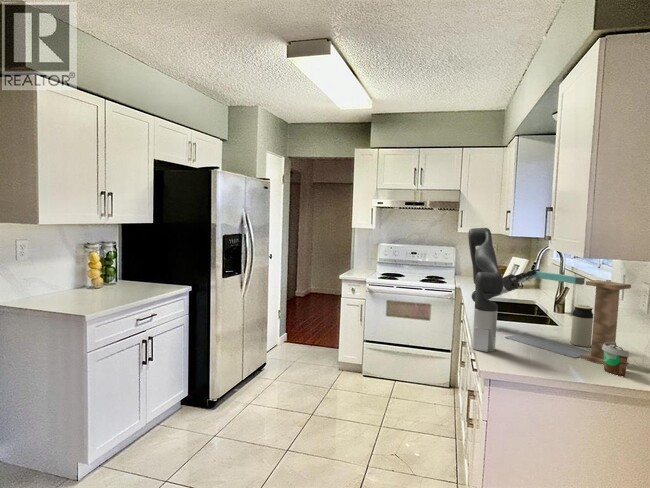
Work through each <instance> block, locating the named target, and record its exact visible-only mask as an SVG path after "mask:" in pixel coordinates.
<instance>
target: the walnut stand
mask: <svg viewBox="0 0 650 488" xmlns="http://www.w3.org/2000/svg"><path fill="white" fill-rule="evenodd" d="M585 286H590V287H595V295H594V307H593V325H592V338H591V346H590V347H591V349H590V351H591V352H589V353H586V354H582V355H581V357H580V359H581V360H585V361H588V362H592V363H595V364H598V365H602V364H603V365H602V366H604V350H602V346H603V344H604V343H605V342H616V341H617V340H616V339H617V338H616V337H617V326H618V315H619V303H620V291H622V290H629V289H632V284H630V283H629V284H628V283H622V282H614V281H606V280H599V279H597V280H588V281H586V280H585Z"/></svg>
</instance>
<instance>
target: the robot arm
mask: <svg viewBox="0 0 650 488" xmlns="http://www.w3.org/2000/svg"><path fill="white" fill-rule="evenodd" d="M467 237H468V247H469V252H470V253H469V254H470V258H471V264H472V277H473V279H472V280H473V283H474V285H475V289H474V291H473V292H472V293H471V300H472V301H473V302H474V310H473V311H474V312H473V313H474V314H473V325H472V326H473V327H472V329H473V330H472V345H471V347H472V349H473V350H477V351H482V352H485V353H489V352H495V350H496V337H497V323H498V310H499V309H498V308H499V307H498V303H496V302H494V301H492V300H490V299H492V298H496V297H498V296H499V297H500V296H501V295H504V294H508V293H510V292H512V291H515V290H516V289H519V288H520V285H521V284H523V283H525V282H526V281H530V280H532V279H534V277H529V276H532V275H534V274H536V271H540V268H539V269H538V268H537V269H530V270H531V271H529V272H527V271H525V272H522V273H519V274H513V273H509V274H508V275H506V276H504V277H503V276H502V274H501V271H500V269H499V267H498V259H497V256H496V253H495V249H494V245H493V237H492V233H491V230H490V229H489V228H488V227H476V228H475V227H474V228H470V229H469V230H468V235H467ZM477 247H478V248H477ZM540 272H541V271H540Z"/></svg>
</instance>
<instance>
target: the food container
mask: <svg viewBox="0 0 650 488" xmlns="http://www.w3.org/2000/svg"><path fill="white" fill-rule="evenodd" d="M602 350H604V365H603V370H605V371H604V372H605V373H608V374H610V373H611V375H613V374H614V376H616V375H618V376H617V377H621V376H623V378H626V375H627V372H626V371H627V365H628V358H629V355H630V354H629V351H628V350H625V349H624V348H622V347H621V346H618V345H617V342H616V341H615V342H605V343H604V344H603V346H602Z"/></svg>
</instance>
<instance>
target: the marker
mask: <svg viewBox="0 0 650 488" xmlns="http://www.w3.org/2000/svg"><path fill="white" fill-rule="evenodd" d="M531 270H532V269H529V270H527V271H526V272H529V271H531ZM529 277H533V278H535V279H543V280H548V281H554V282H560V283H561V282H562V283H567V284H575V285H578V286H579V285H580V286H581V285H585V283H586V278H585V277H582V276H573V275H567V274H561V273H554V272H547V271H536V274H534V275H532V276H529Z"/></svg>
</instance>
